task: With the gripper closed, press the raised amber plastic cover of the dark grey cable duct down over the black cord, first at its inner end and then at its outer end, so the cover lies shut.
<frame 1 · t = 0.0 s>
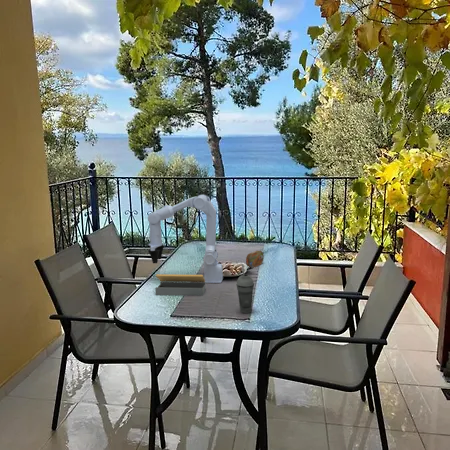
hand: (157, 261, 220), 10 cm above the table, tool pointing down, fingers open, 7 cm apart
beverage cup: (245, 311, 177), on the table
cable duct: (181, 292, 202), on the table
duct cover: (180, 278, 202), point 7 cm above the table, hinge at 35.0°
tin: (254, 266, 243), on the table
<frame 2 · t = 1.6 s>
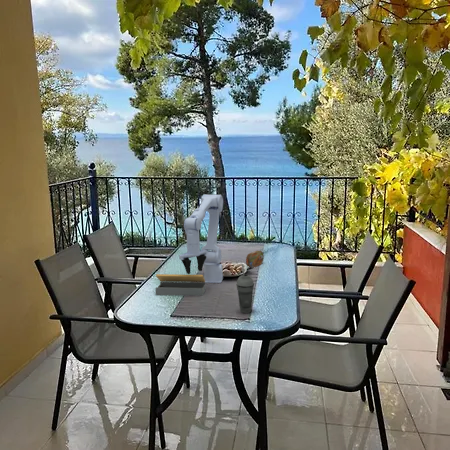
hand: (194, 272, 198), 10 cm above the table, tool pointing down, fingers open, 6 cm apart
nothing on the table moved.
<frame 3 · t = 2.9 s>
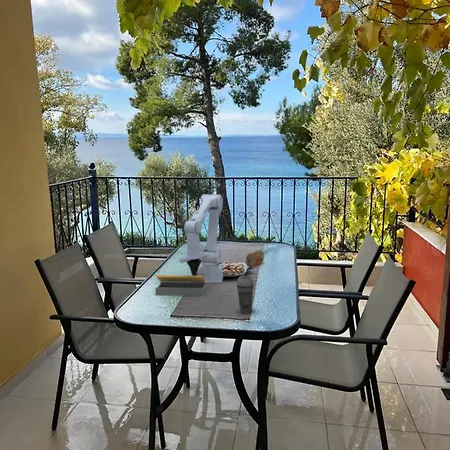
hand: (194, 275, 198), 9 cm above the table, tool pointing down, fingers closed
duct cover: (180, 278, 202), point 6 cm above the table, hinge at 32.4°, touching gripper
everything else where it was.
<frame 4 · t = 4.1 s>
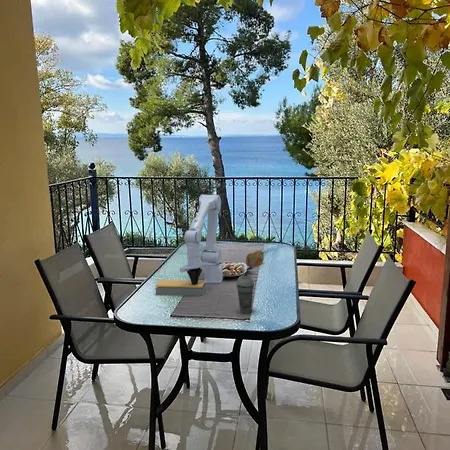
hand: (194, 284, 199), 5 cm above the table, tool pointing down, fingers closed, pressing on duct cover
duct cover: (180, 283, 201), point 4 cm above the table, hinge at 1.8°, touching gripper
everything else where it was.
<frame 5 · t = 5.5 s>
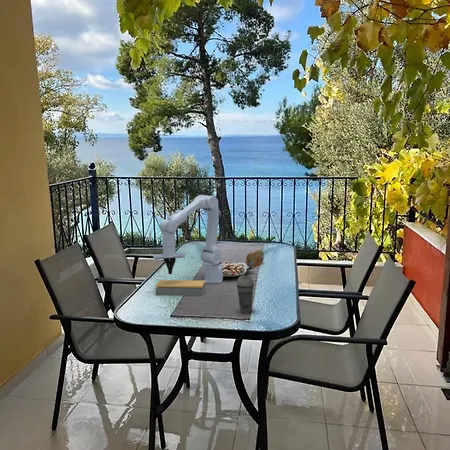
hand: (170, 273, 199), 10 cm above the table, tool pointing down, fingers closed
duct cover: (180, 283, 201), point 4 cm above the table, hinge at 1.8°
everything else where it was.
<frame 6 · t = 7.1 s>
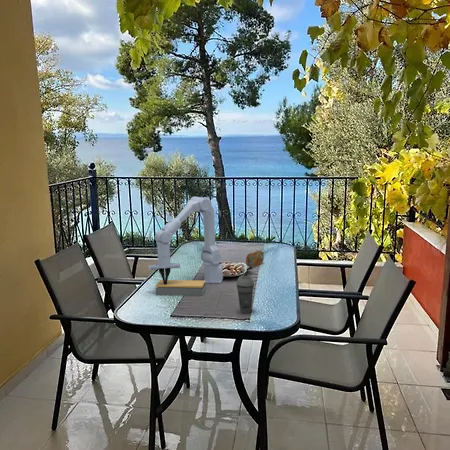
hand: (165, 283, 201), 5 cm above the table, tool pointing down, fingers closed, pressing on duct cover
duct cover: (180, 283, 201), point 4 cm above the table, hinge at 1.7°, touching gripper
everything else where it was.
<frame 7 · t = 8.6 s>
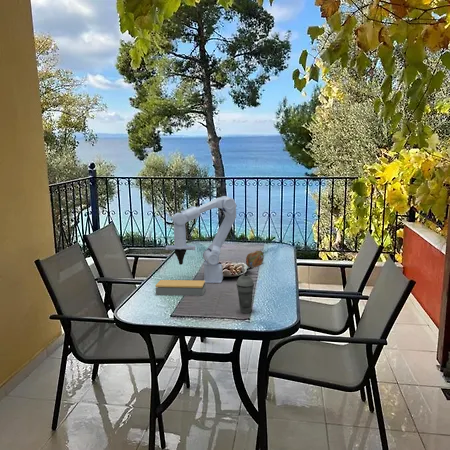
hand: (181, 264, 212), 10 cm above the table, tool pointing down, fingers closed
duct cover: (180, 283, 201), point 4 cm above the table, hinge at 1.7°
everything else where it was.
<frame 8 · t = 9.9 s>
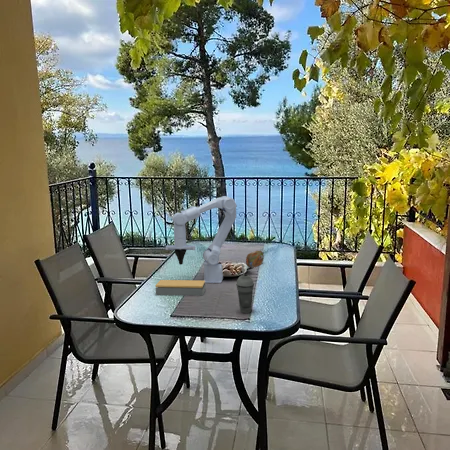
hand: (181, 264, 212), 10 cm above the table, tool pointing down, fingers closed
nothing on the table moved.
at the end: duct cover at +2° (first picture: +35°) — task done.
